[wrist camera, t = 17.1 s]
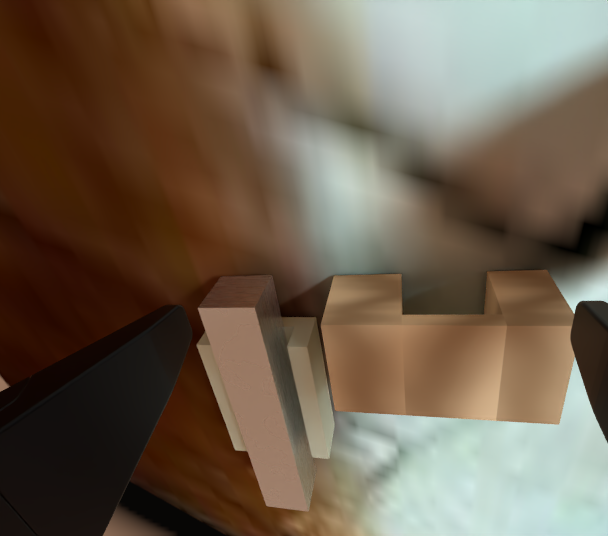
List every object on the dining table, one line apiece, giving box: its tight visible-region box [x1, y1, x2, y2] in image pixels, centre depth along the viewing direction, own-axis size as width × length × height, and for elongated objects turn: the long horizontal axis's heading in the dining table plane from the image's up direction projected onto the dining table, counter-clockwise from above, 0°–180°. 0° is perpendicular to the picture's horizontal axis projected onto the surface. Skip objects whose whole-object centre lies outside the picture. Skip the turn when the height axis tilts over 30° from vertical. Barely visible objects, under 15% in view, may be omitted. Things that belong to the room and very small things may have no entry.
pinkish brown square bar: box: [198, 275, 316, 511], centre depth 26 cm, size 18×3×3 cm, turn 9°
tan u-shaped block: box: [321, 270, 575, 424], centre depth 21 cm, size 11×6×5 cm, turn 99°
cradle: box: [197, 317, 335, 459], centre depth 27 cm, size 7×10×3 cm
